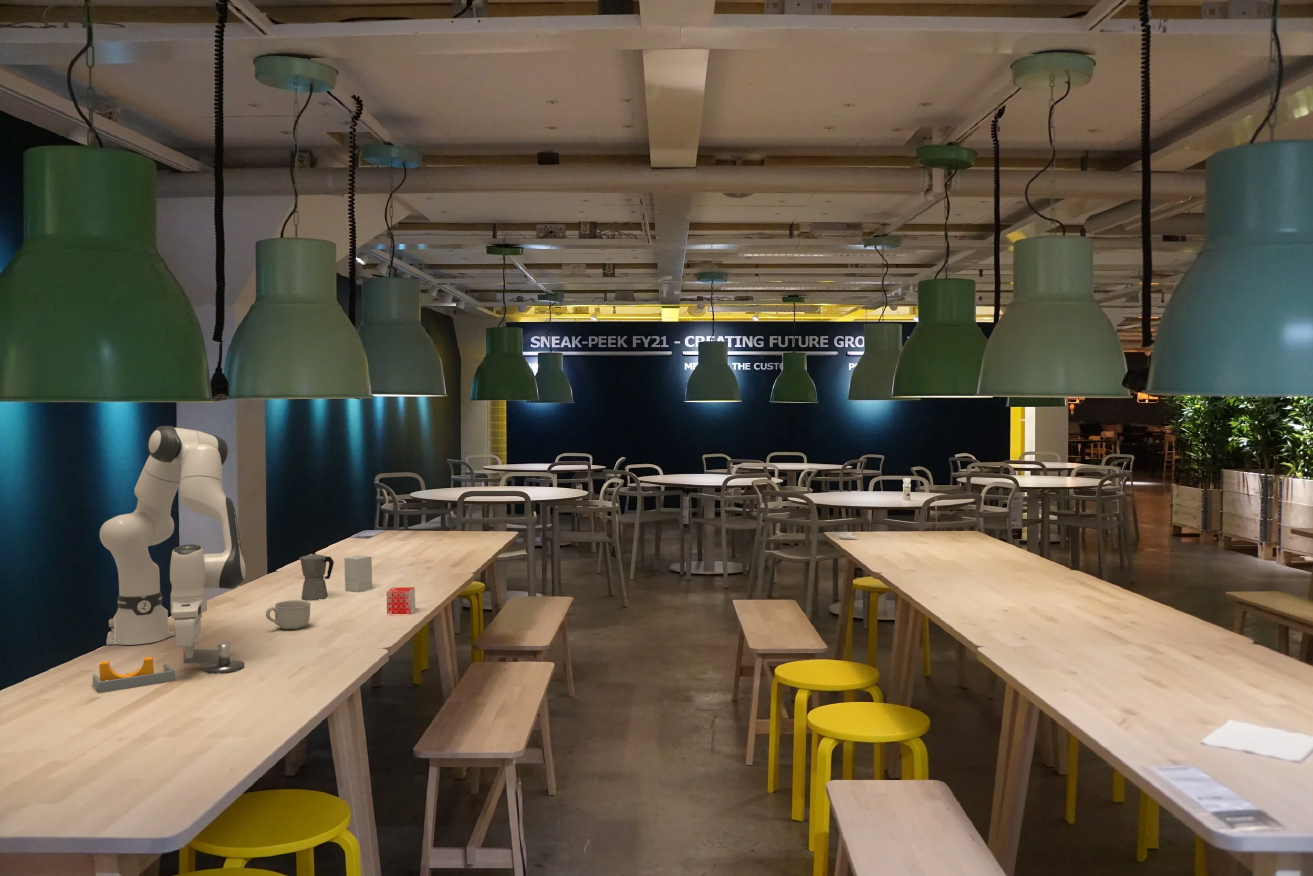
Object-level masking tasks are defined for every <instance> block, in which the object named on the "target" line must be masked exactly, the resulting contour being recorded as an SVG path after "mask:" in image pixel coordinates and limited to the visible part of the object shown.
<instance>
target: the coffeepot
mask: <svg viewBox="0 0 1313 876" xmlns="http://www.w3.org/2000/svg"><path fill="white" fill-rule="evenodd" d="M316 552H317V549H315V548H312V549H311V554H308V555H303V556H299V557H298V559H299V561H300V565H301V571H302V576H303V577H304V581H303V585H302V592H301V598H300V599H301V600H302V601H320V600H319V599H322V600H325V599H327V598H328V597H329V595H328V589H327V585H326V580H329V579H331V575H332V572H333V568H334V563H335V561H334V559H333V558H332V557H331V556H327V555H321V554H317V553H316ZM327 562H328V568H327ZM326 568H327V572H326ZM326 574H327V575H326ZM325 575H326V576H325Z"/></svg>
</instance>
